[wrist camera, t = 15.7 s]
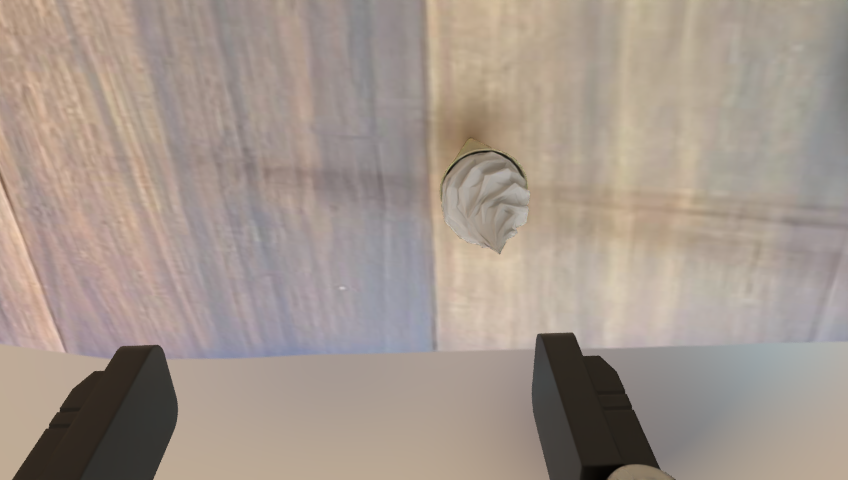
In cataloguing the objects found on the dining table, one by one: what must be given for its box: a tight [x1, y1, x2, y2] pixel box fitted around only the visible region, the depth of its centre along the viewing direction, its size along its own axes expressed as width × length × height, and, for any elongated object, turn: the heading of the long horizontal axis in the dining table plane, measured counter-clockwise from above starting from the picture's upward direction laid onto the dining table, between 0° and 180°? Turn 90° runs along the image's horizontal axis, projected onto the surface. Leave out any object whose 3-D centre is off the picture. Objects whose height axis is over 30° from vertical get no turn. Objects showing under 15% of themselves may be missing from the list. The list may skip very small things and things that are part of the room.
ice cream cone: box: [440, 138, 530, 254], centre depth 36 cm, size 5×5×15 cm
